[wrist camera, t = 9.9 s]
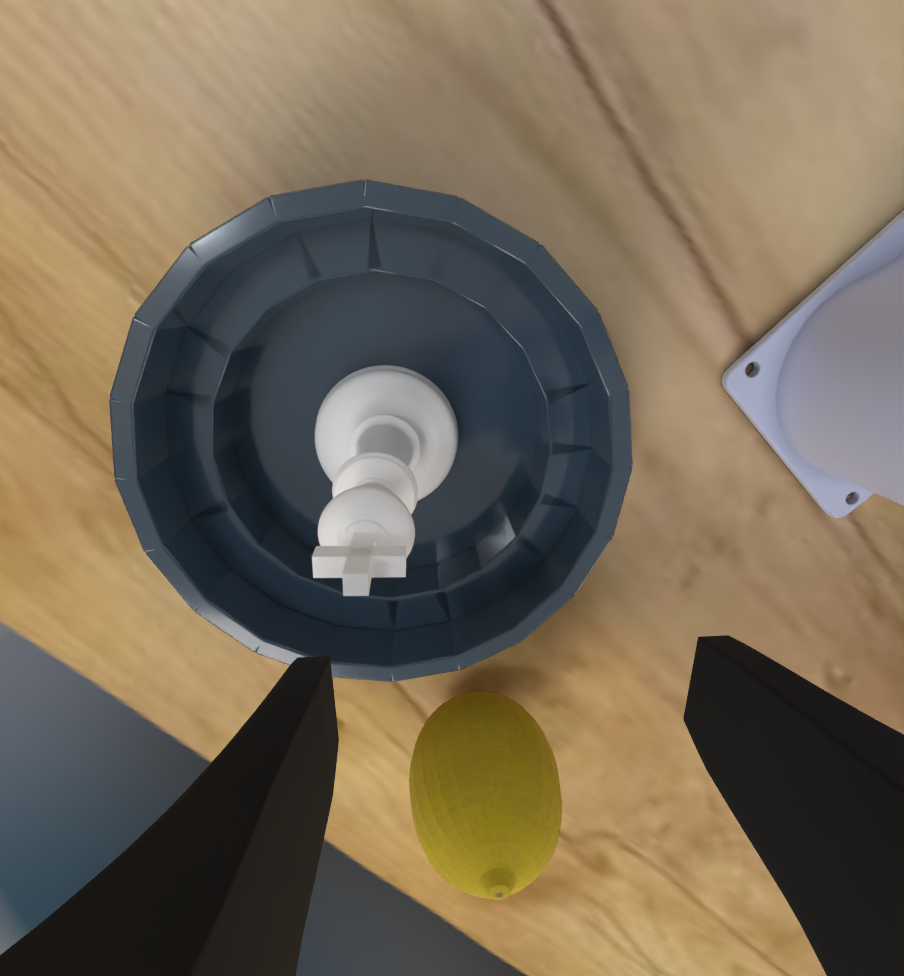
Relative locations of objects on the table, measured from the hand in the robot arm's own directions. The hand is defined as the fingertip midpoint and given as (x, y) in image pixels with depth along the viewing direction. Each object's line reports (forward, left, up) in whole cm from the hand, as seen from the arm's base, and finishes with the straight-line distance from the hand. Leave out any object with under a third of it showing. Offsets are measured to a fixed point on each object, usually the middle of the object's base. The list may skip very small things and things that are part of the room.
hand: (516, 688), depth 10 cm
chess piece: (0, -4, -10) cm, 11 cm away
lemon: (+7, +7, -11) cm, 14 cm away
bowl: (0, -4, -10) cm, 11 cm away
